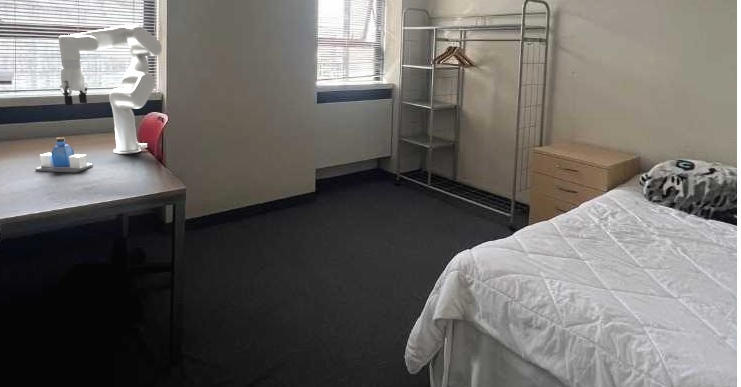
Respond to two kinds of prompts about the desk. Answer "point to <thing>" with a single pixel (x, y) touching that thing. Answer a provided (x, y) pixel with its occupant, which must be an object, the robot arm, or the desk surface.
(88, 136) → the desk surface
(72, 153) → the perfume bottle
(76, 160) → the module rail
